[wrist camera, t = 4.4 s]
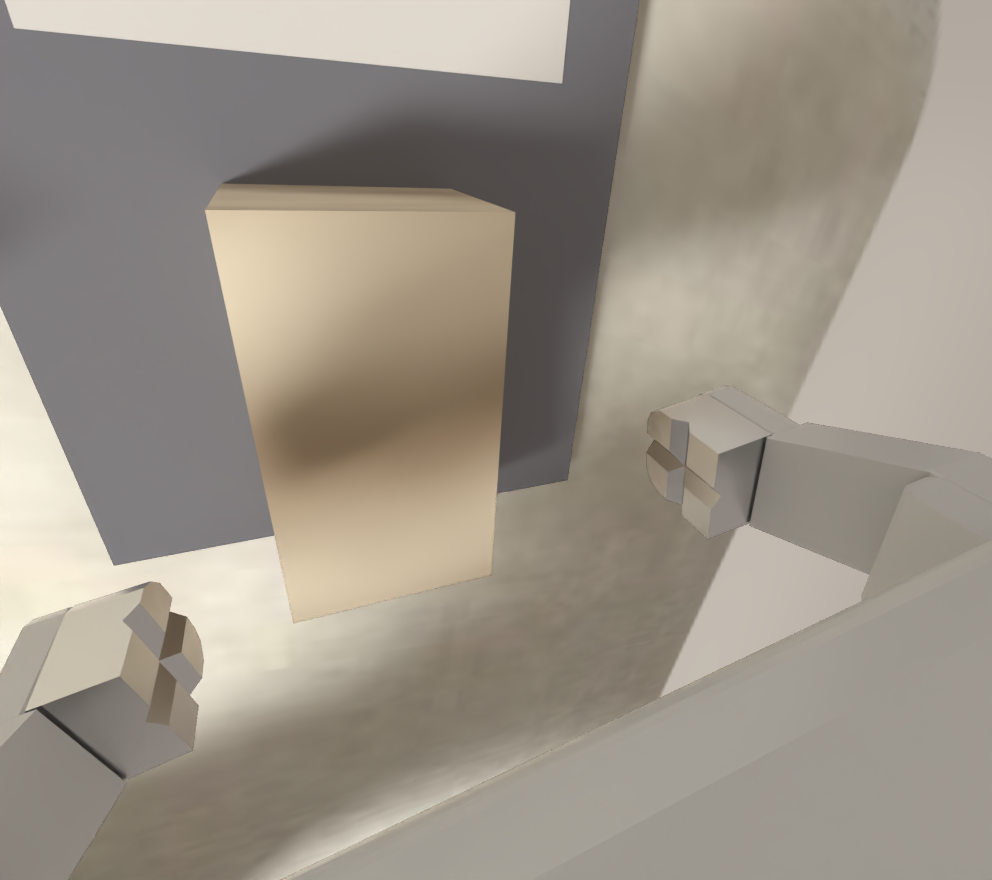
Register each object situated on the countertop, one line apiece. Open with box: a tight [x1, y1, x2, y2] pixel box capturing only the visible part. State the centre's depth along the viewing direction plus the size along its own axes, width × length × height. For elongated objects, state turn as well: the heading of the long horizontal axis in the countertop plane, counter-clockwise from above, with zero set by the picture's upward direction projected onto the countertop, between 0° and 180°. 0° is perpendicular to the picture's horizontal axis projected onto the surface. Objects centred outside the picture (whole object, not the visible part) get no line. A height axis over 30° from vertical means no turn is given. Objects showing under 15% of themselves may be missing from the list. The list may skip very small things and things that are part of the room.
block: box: [205, 183, 515, 623], centre depth 12 cm, size 9×5×4 cm, turn 177°
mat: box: [0, 0, 639, 566], centre depth 12 cm, size 20×14×1 cm
